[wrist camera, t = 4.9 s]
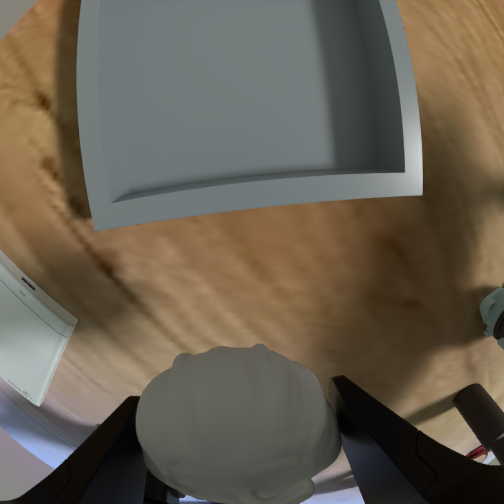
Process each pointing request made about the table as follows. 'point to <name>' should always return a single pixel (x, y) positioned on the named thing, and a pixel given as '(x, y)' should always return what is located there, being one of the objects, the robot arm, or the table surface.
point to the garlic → (237, 427)
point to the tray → (242, 106)
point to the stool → (475, 397)
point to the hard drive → (30, 333)
